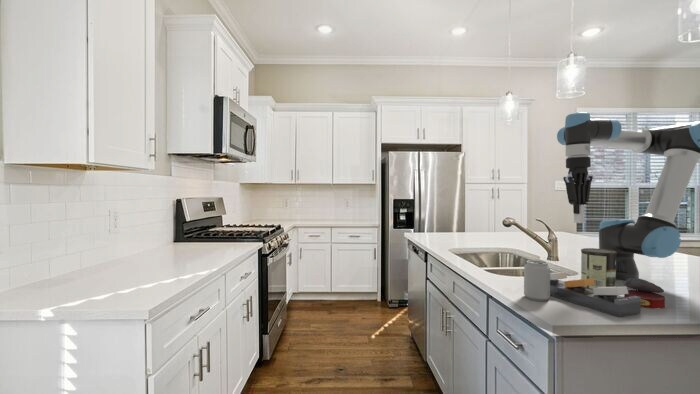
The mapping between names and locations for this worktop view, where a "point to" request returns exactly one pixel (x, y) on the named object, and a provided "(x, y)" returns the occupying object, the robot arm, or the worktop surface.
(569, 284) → the orange rectangular block
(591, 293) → the dark grey tray
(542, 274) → the can
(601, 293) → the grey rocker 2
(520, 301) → the worktop surface
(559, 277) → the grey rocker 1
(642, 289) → the canned food
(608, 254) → the coffee can
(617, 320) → the worktop surface
